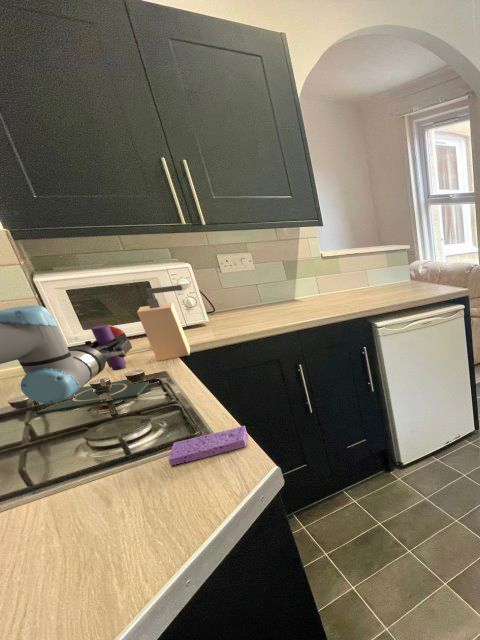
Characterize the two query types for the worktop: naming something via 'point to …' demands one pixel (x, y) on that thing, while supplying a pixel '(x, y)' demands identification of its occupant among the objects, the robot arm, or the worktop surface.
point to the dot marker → (106, 337)
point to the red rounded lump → (116, 331)
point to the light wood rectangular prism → (163, 326)
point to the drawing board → (90, 398)
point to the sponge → (208, 445)
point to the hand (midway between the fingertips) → (115, 339)
